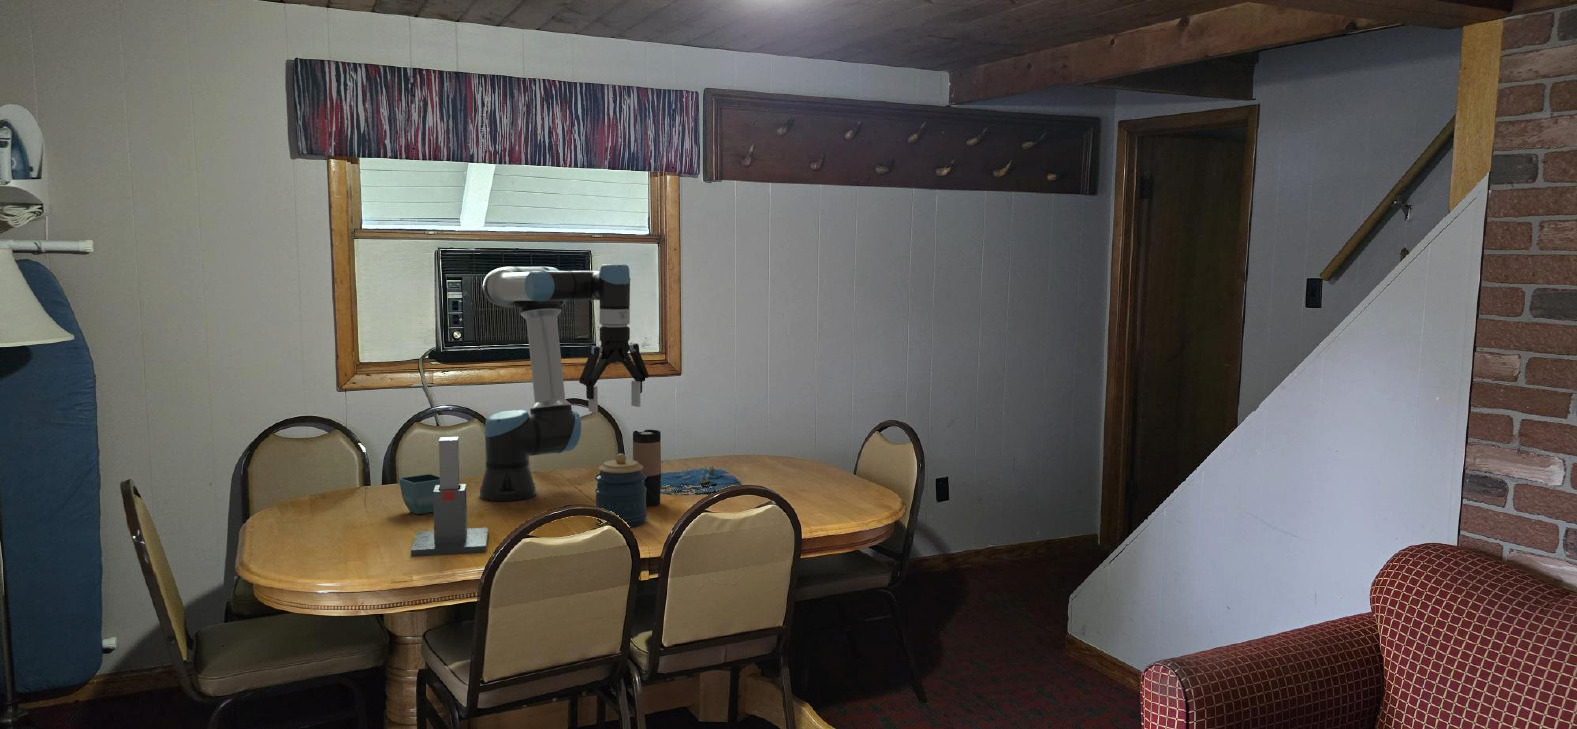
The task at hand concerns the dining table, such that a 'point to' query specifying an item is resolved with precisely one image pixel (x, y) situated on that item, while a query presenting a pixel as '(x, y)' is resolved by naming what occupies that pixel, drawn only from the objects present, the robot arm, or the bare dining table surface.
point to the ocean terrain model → (697, 480)
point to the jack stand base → (450, 527)
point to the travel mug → (649, 462)
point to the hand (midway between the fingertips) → (614, 409)
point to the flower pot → (419, 492)
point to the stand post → (449, 463)
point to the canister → (622, 490)
